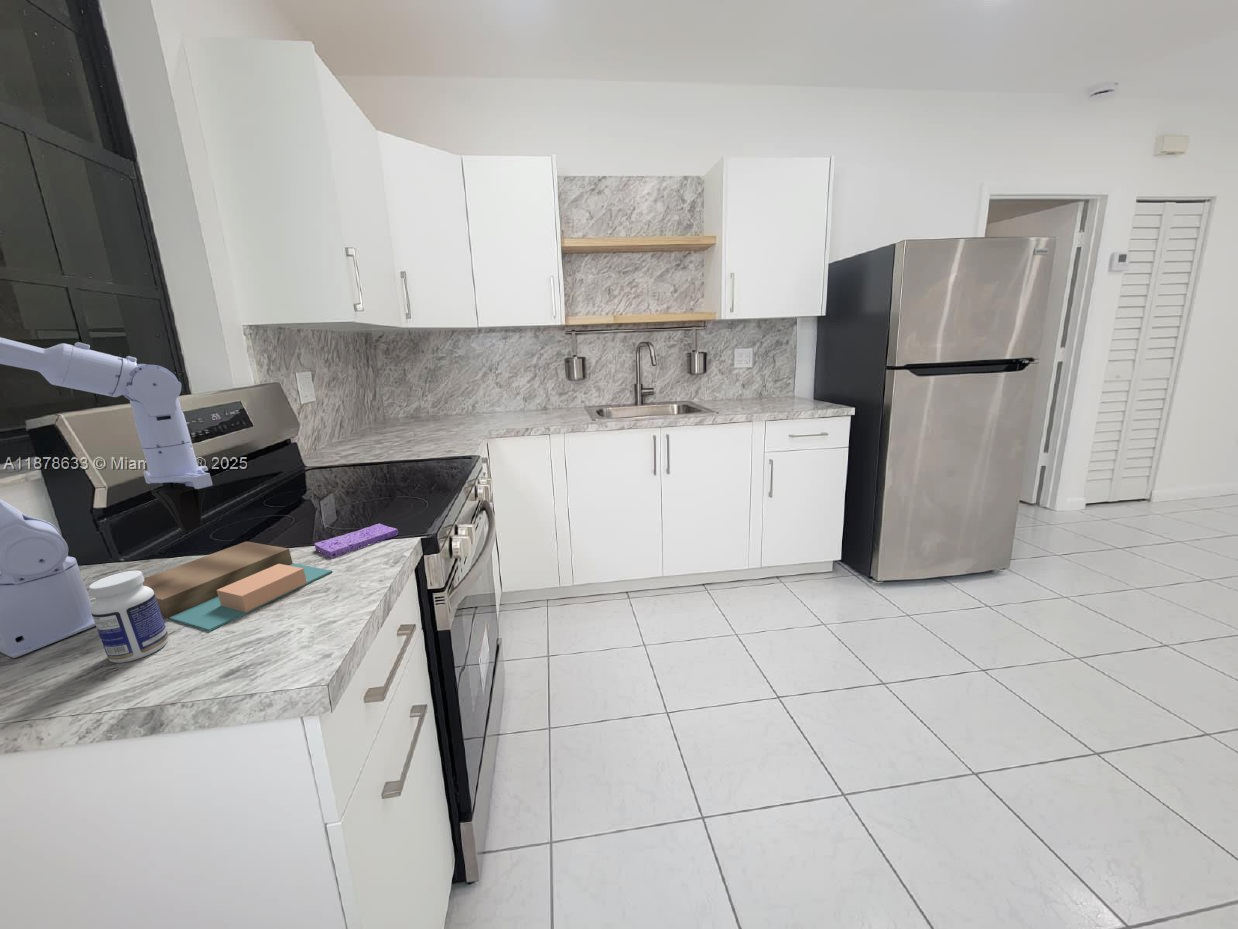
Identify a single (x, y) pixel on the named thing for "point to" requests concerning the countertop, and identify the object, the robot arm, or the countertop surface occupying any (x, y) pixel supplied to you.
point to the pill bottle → (127, 617)
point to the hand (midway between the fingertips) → (191, 528)
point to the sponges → (355, 540)
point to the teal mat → (216, 615)
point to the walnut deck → (211, 575)
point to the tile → (261, 587)
